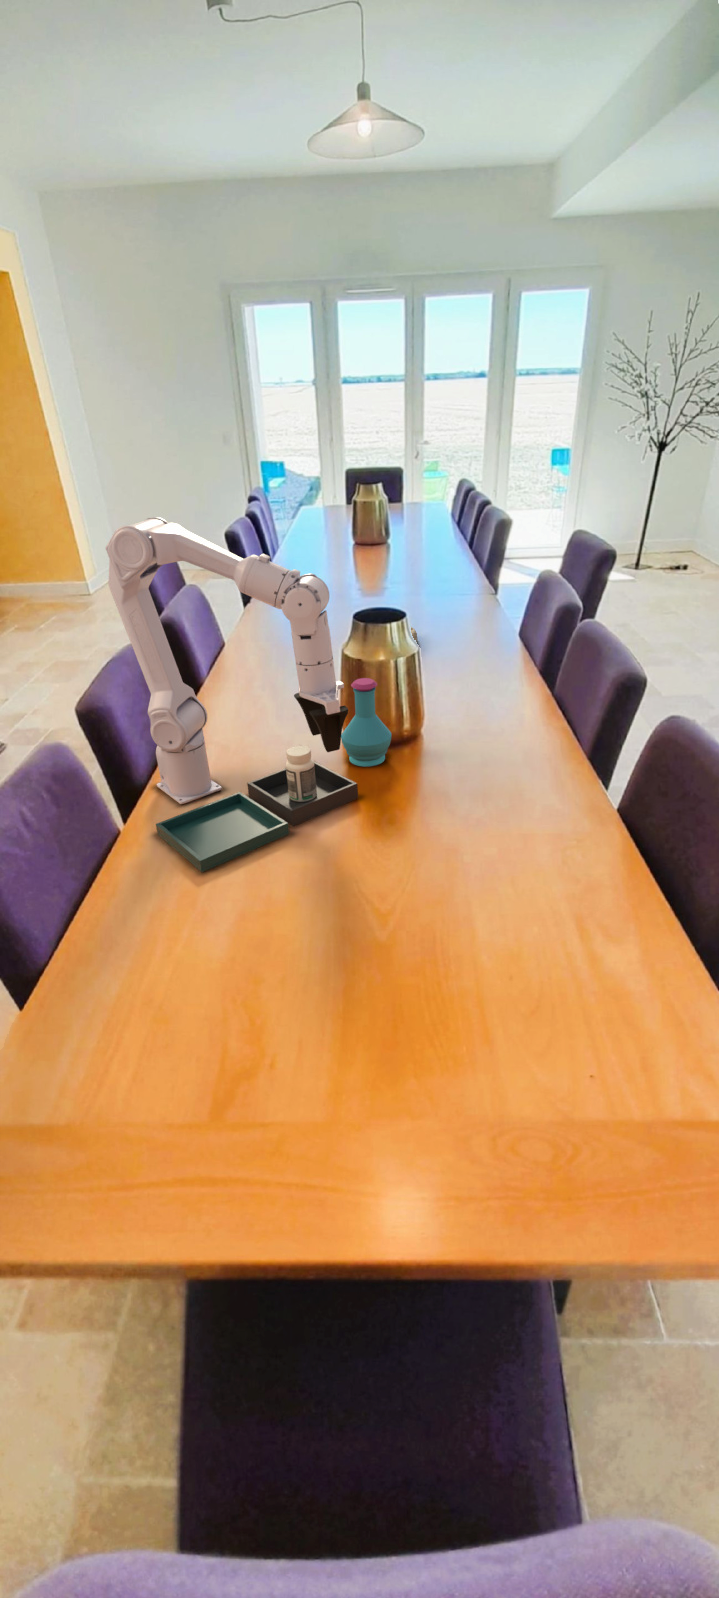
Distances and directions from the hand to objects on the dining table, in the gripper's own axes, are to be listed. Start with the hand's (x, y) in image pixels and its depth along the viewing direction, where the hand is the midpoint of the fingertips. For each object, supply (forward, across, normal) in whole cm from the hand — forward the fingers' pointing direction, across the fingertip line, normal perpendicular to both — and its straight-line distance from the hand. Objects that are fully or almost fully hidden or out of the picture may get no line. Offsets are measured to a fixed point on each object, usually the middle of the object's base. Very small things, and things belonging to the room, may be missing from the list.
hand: (325, 741), depth 115 cm
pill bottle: (+10, +2, +4) cm, 11 cm away
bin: (+10, +2, +4) cm, 11 cm away
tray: (+10, -4, +19) cm, 22 cm away
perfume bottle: (+11, +12, -11) cm, 19 cm away
